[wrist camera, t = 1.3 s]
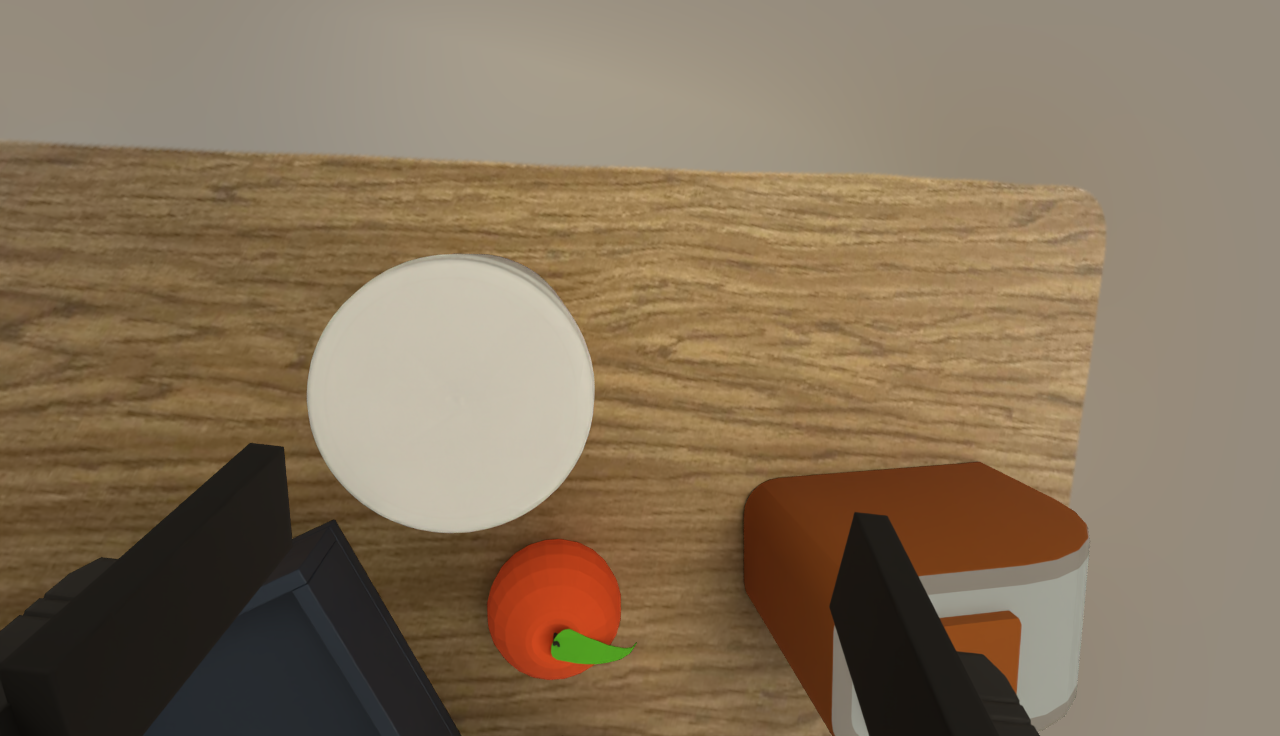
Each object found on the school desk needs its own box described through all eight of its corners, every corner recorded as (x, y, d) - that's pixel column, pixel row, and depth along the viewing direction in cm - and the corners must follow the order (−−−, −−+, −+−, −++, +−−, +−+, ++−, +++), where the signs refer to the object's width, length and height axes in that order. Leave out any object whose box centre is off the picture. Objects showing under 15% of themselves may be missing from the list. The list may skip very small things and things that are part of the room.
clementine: (649, 546, 41) (672, 609, 34) (603, 652, 42) (617, 734, 35) (517, 501, 39) (514, 557, 32) (472, 612, 40) (459, 690, 33)
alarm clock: (743, 615, 42) (836, 784, 29) (742, 479, 41) (841, 592, 28) (972, 591, 44) (1157, 739, 31) (980, 460, 43) (1178, 558, 30)
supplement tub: (490, 466, 39) (464, 599, 24) (349, 351, 37) (228, 421, 22) (611, 335, 38) (657, 391, 24) (475, 211, 36) (437, 191, 22)
